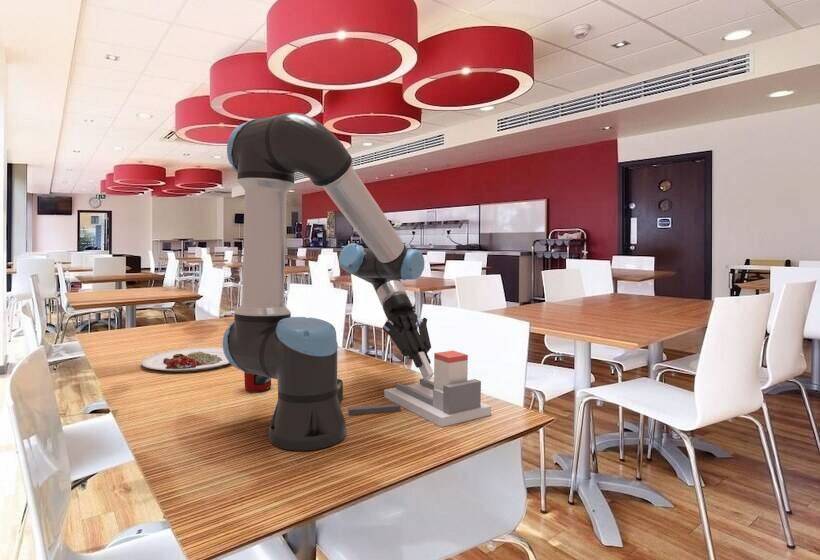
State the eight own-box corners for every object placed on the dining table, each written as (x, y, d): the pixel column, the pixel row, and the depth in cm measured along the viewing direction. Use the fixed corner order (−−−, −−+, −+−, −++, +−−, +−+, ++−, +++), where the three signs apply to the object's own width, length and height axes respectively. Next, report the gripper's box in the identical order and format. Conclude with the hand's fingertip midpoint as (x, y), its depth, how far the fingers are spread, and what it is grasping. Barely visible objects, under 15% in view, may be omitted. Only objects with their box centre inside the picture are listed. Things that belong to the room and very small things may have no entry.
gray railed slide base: (384, 397, 126) (384, 366, 126) (429, 388, 134) (430, 359, 133) (441, 427, 106) (441, 390, 106) (491, 414, 114) (491, 380, 113)
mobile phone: (332, 377, 128) (319, 393, 113) (343, 377, 128) (333, 393, 113) (332, 396, 128) (319, 415, 113) (344, 396, 128) (333, 415, 113)
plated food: (243, 350, 181) (243, 340, 180) (243, 370, 152) (243, 359, 152) (150, 355, 171) (150, 346, 171) (132, 379, 143) (131, 367, 143)
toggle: (433, 401, 116) (434, 353, 115) (452, 397, 119) (453, 350, 118) (448, 407, 111) (448, 357, 110) (467, 403, 114) (467, 354, 113)
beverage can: (263, 393, 129) (262, 347, 128) (239, 392, 130) (238, 346, 129) (275, 386, 135) (275, 342, 134) (252, 384, 137) (252, 341, 136)
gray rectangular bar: (348, 417, 113) (348, 410, 113) (347, 414, 115) (347, 407, 115) (400, 412, 116) (400, 406, 116) (399, 410, 118) (399, 403, 118)
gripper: (410, 308, 141) (444, 381, 129) (368, 311, 134) (400, 389, 122) (420, 291, 136) (457, 365, 124) (378, 294, 129) (412, 372, 117)
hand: (429, 377), depth 123 cm, fingers closed
